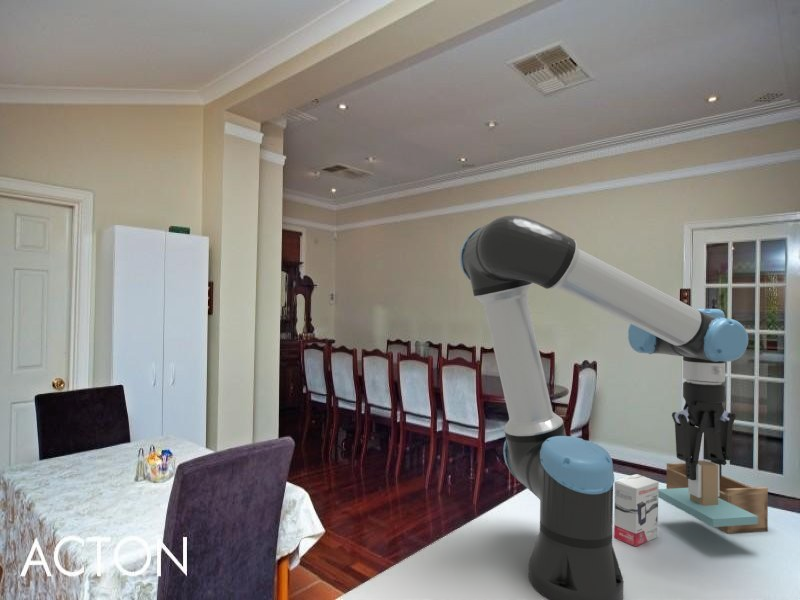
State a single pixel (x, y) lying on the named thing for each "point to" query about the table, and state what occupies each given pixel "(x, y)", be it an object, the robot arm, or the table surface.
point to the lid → (708, 502)
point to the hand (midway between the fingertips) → (703, 494)
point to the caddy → (729, 497)
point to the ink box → (636, 509)
